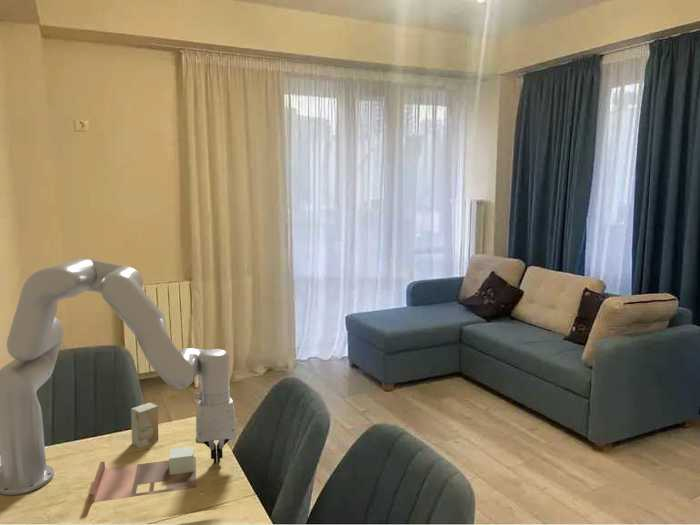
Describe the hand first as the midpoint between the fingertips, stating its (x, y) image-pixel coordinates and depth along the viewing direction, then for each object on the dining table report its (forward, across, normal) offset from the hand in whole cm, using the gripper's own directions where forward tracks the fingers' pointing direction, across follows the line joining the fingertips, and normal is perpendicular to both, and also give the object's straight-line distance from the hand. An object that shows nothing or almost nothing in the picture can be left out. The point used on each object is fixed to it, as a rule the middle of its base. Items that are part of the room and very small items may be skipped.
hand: (216, 460), depth 140 cm
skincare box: (+3, -20, +18) cm, 26 cm away
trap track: (+2, -18, -2) cm, 18 cm away
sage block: (+1, -9, 0) cm, 9 cm away
